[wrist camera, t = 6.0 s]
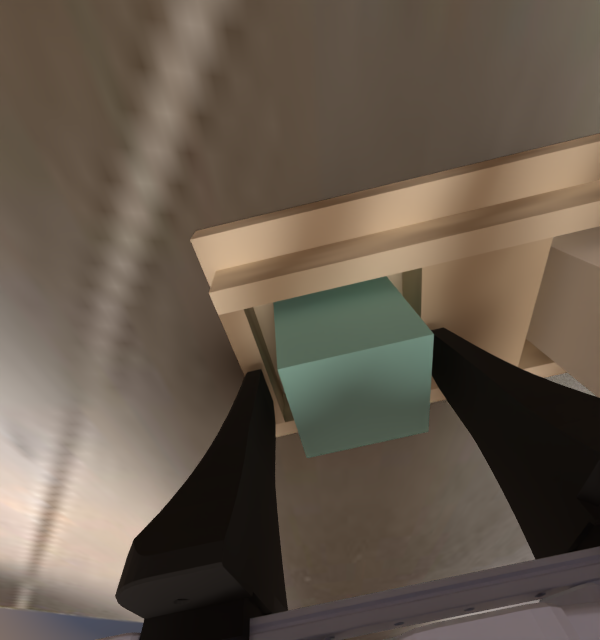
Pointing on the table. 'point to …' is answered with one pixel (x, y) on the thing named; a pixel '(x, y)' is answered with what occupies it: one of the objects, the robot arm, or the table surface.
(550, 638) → the robot arm
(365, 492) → the table surface
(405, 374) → the teal block
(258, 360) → the assembly board
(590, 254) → the cream block
